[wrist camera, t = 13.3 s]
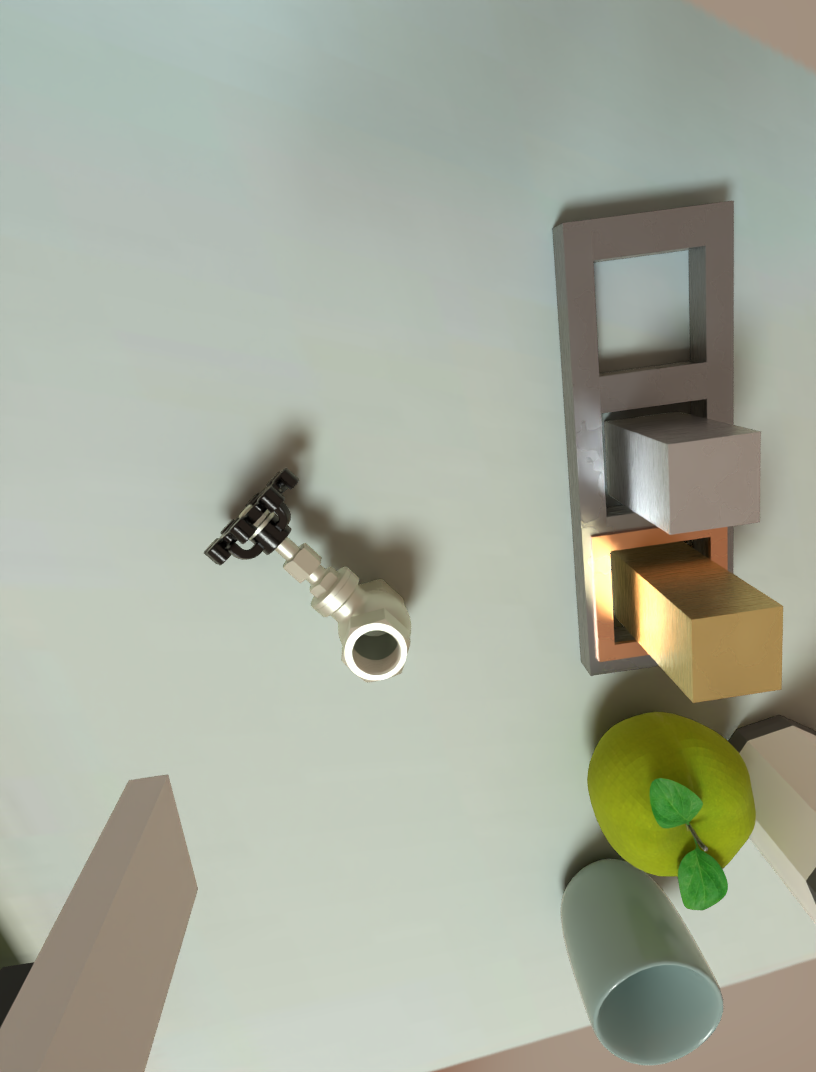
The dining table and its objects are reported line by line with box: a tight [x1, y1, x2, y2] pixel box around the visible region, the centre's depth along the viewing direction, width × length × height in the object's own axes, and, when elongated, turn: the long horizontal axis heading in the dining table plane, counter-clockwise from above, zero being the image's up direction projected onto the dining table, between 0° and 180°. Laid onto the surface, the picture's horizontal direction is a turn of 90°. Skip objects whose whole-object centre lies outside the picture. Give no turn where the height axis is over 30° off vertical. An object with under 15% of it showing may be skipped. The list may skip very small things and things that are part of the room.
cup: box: [561, 859, 723, 1065], centre depth 46 cm, size 8×8×10 cm
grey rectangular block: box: [604, 411, 761, 535], centre depth 38 cm, size 4×4×9 cm
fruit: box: [587, 712, 756, 910], centre depth 43 cm, size 9×9×10 cm
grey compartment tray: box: [552, 201, 734, 676], centre depth 41 cm, size 26×9×2 cm, turn 7°
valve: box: [204, 468, 411, 682], centre depth 40 cm, size 7×7×12 cm
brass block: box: [611, 541, 783, 703], centre depth 39 cm, size 4×4×11 cm
